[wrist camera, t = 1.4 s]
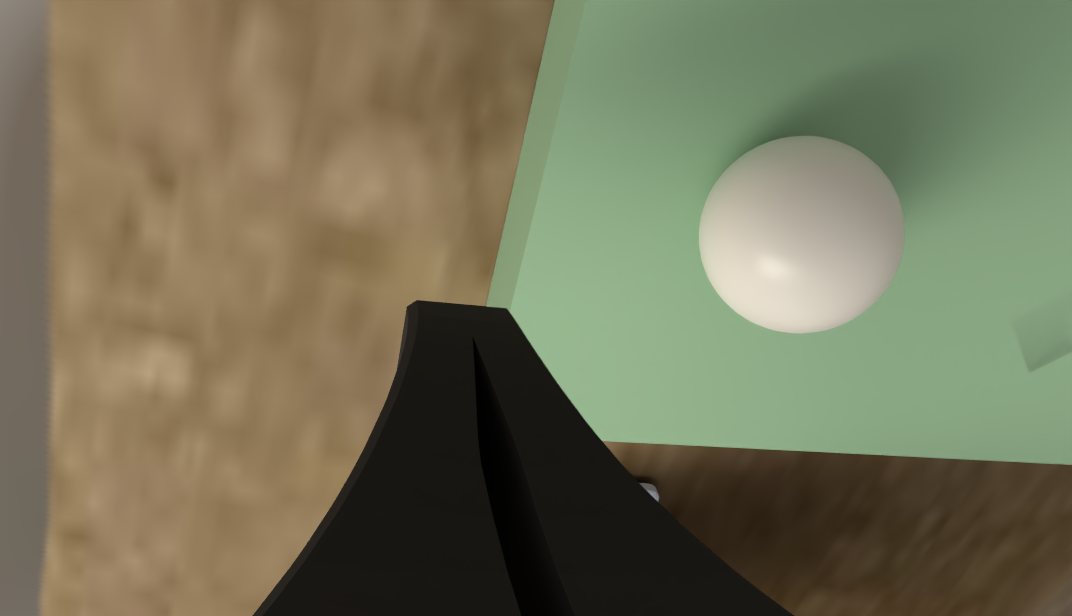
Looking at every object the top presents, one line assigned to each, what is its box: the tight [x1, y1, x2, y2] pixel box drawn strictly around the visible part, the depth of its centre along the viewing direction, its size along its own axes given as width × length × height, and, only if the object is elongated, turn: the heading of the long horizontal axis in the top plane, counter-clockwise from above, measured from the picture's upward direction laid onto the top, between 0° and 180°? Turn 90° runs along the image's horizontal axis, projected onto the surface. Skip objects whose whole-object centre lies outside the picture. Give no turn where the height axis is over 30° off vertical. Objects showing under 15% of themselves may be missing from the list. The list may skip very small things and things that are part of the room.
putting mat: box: [486, 0, 1072, 465], centre depth 22 cm, size 16×24×2 cm, turn 78°
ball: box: [699, 136, 905, 334], centre depth 17 cm, size 4×4×4 cm
